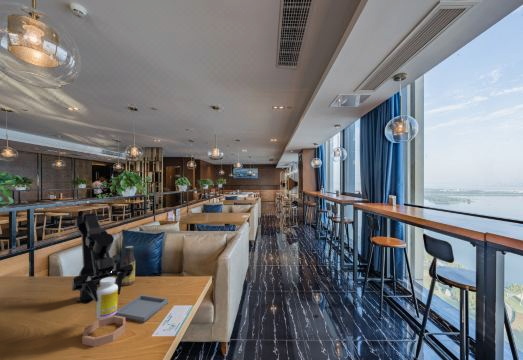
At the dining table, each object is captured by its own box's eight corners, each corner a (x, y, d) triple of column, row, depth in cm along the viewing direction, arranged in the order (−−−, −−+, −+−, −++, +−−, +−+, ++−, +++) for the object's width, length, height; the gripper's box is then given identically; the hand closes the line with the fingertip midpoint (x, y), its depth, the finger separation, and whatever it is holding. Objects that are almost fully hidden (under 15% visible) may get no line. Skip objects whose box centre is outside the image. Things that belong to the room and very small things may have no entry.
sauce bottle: (128, 286, 118) (129, 249, 118) (118, 285, 119) (119, 248, 119) (137, 281, 124) (138, 245, 124) (128, 280, 125) (128, 244, 125)
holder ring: (73, 342, 77) (74, 334, 77) (106, 320, 89) (107, 313, 89) (103, 348, 74) (103, 341, 74) (133, 325, 87) (133, 318, 87)
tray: (114, 317, 92) (114, 312, 92) (141, 298, 106) (141, 294, 106) (144, 322, 88) (144, 317, 88) (168, 303, 102) (168, 298, 102)
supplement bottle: (121, 311, 84) (122, 277, 85) (104, 321, 78) (105, 284, 78) (108, 307, 87) (109, 274, 87) (90, 317, 80) (92, 281, 80)
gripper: (73, 254, 78) (78, 297, 71) (132, 243, 92) (141, 279, 84) (69, 270, 84) (74, 311, 76) (125, 258, 97) (134, 292, 90)
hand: (108, 297), depth 81 cm, fingers closed on supplement bottle, 7 cm apart
